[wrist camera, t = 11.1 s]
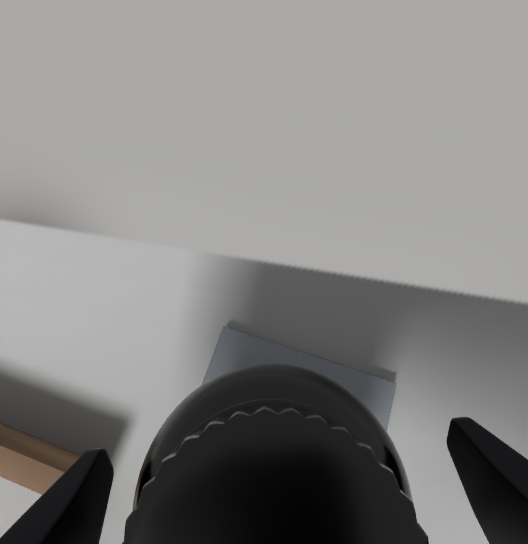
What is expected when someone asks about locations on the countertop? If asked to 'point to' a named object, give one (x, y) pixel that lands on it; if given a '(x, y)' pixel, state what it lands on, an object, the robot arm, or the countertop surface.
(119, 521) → the countertop surface
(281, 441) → the supplement bottle
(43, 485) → the walnut holder
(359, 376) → the slate mat
